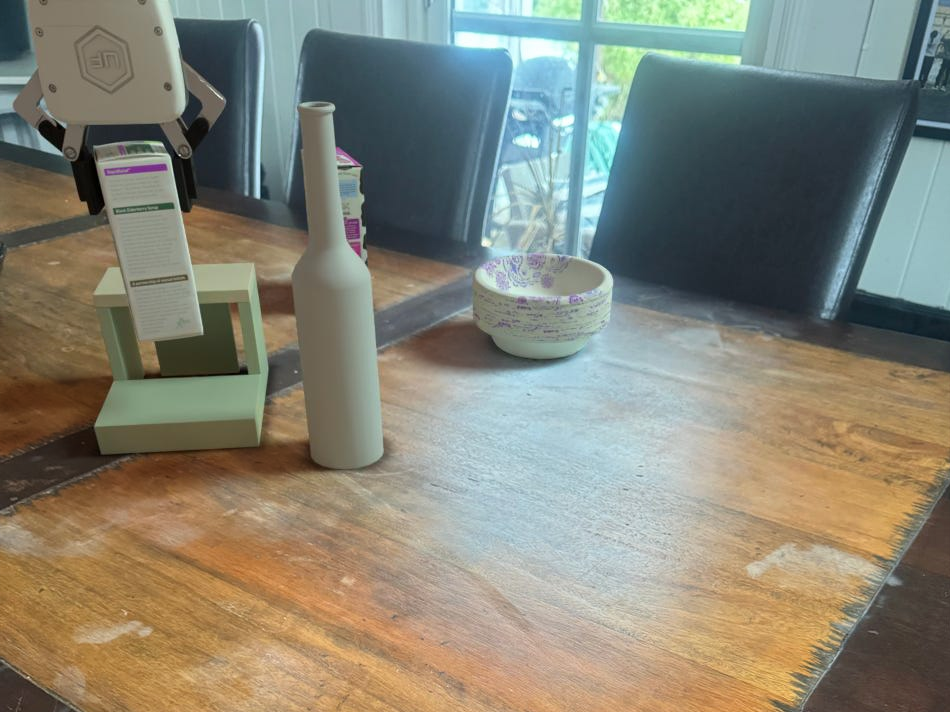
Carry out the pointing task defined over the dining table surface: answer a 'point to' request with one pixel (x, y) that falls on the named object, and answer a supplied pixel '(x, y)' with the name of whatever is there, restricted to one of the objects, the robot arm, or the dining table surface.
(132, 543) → the dining table surface
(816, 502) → the dining table surface
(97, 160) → the syrup box
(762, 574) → the dining table surface
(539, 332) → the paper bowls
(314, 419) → the bottle
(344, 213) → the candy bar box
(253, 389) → the shelf
